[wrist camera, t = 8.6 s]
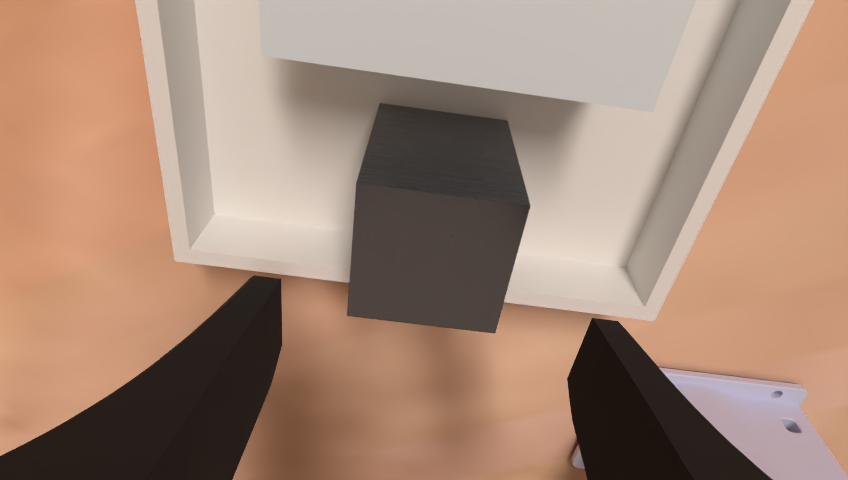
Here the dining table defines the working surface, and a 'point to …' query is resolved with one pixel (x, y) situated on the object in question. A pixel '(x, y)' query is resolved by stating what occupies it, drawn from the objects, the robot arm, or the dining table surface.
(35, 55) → the dining table surface
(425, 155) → the metal block
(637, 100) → the plain white rectangular box
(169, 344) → the dining table surface
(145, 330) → the dining table surface
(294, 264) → the tote
